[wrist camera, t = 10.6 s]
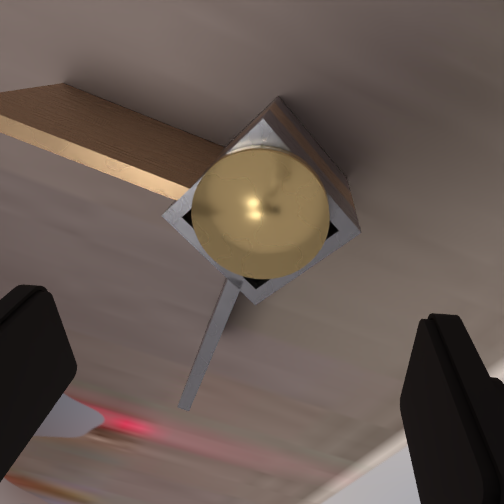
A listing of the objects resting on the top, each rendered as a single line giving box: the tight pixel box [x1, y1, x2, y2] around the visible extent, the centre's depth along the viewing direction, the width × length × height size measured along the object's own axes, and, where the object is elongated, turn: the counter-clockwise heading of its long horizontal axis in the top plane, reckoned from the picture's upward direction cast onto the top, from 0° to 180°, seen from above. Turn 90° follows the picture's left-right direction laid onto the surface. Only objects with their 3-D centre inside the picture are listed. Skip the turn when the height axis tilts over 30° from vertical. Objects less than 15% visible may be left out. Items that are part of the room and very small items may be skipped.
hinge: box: [0, 83, 361, 411], centre depth 22 cm, size 16×20×8 cm
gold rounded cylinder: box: [191, 144, 330, 279], centre depth 20 cm, size 6×6×8 cm
